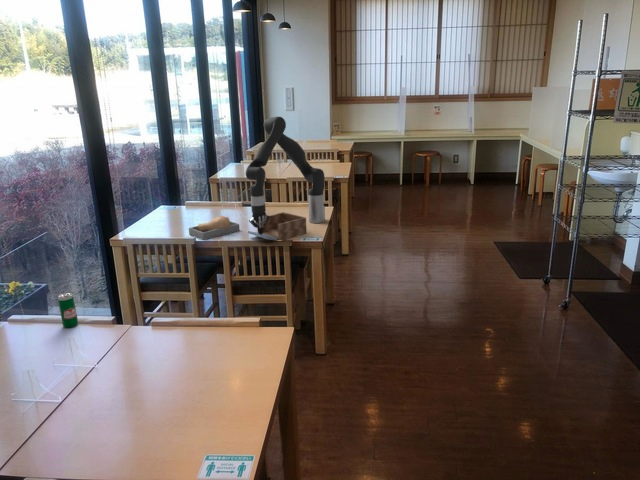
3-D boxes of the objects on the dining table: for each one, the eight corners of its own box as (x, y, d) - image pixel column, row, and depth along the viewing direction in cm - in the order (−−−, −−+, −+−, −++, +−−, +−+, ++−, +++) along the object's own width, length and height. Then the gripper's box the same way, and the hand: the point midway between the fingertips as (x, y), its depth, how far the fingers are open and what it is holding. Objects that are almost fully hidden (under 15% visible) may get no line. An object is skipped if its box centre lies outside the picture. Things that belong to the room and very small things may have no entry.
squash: (230, 233, 287) (226, 219, 283) (197, 238, 290) (192, 224, 286) (234, 225, 297) (230, 212, 293) (202, 230, 300) (198, 216, 296)
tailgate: (259, 232, 285) (248, 231, 279) (277, 238, 273) (266, 236, 267) (258, 234, 285) (247, 233, 279) (277, 240, 273) (266, 238, 267)
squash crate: (224, 225, 306) (224, 219, 305) (239, 230, 296) (239, 224, 294) (189, 234, 290) (188, 228, 289) (203, 239, 279) (202, 233, 278)
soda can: (66, 330, 178) (60, 299, 175) (60, 325, 181) (54, 295, 178) (80, 324, 182) (75, 294, 178) (74, 321, 185) (69, 291, 181)
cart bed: (284, 227, 299) (283, 212, 296) (306, 233, 286) (306, 217, 283) (258, 234, 286) (257, 218, 284) (280, 241, 273) (279, 224, 270)
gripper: (263, 200, 276) (266, 229, 282) (244, 205, 268) (247, 235, 273) (272, 202, 271) (274, 232, 277) (252, 207, 263) (255, 238, 268)
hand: (260, 234), depth 275 cm, fingers closed
